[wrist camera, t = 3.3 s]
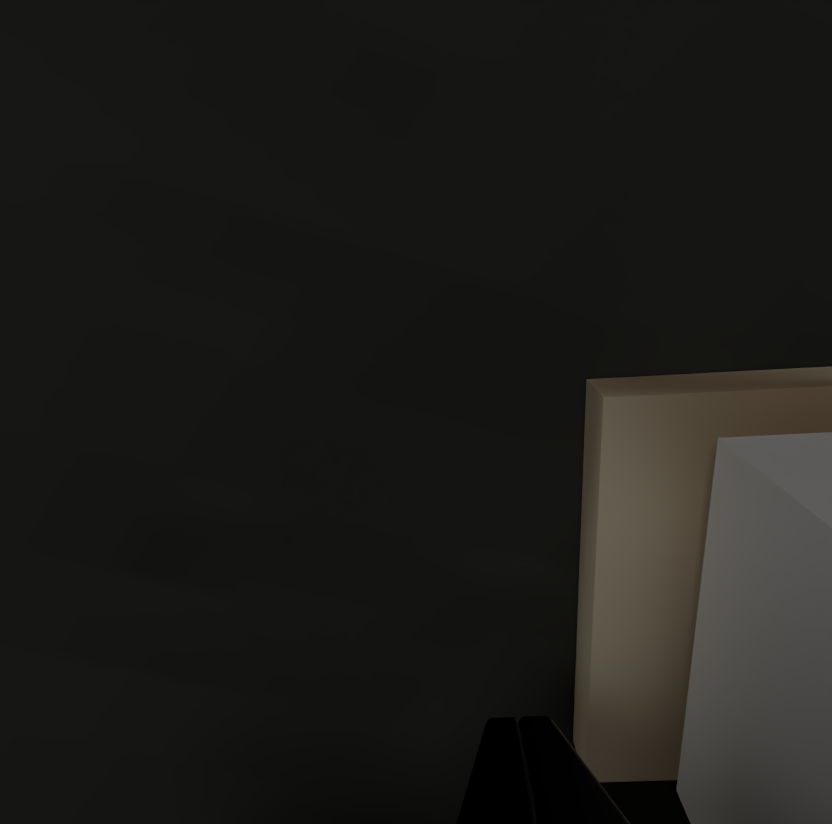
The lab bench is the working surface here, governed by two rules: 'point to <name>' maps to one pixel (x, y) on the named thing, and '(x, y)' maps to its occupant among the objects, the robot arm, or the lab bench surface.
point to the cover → (763, 639)
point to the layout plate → (659, 546)
